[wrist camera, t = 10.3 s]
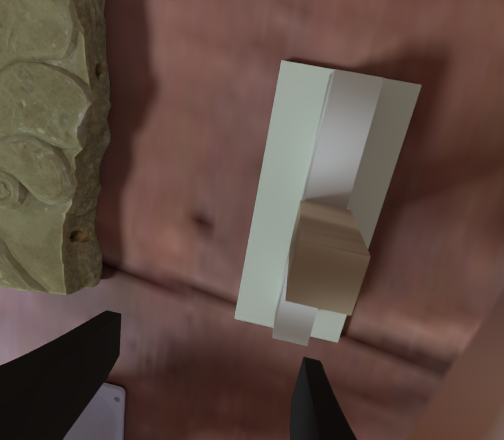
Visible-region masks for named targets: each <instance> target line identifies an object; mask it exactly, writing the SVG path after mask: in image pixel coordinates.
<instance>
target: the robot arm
mask: <svg viewBox="0 0 504 440" xmlns="http://www.w3.org/2000/svg"><path fill="white" fill-rule="evenodd" d="M120 331H121V314H120V313H116V312H112V311H107V310H106V311H104V312H102V313H101V314H99V315H97V316H95V317H94V318H92V319H90V320H89V321H87V322H85V323H83V324H82V325H80V326H78V327H76V328H75V329H73V330H71V331H69V332H68V333H66V334H64V335H62V336H60V337H59V338H57V339H55V340H53V341H51V342H49V343H47V344H45V345H43V346H41V347H39V348H37V349H35V350H33V351H31V352H29V353H27V354H25V355H23V356H21V357H19V358H17V359H14V360H12V361H10V362H8V363H5V364H3V365H1V366H0V440H123V436H124V414H125V390H124V389H123V388H122V387H120V386H116V385H112V384H108V383H104V382H105V380H106V378H107V377H108V375H109V373H110V371H111V370H112V368H113V366H114V364H115V362H116V361H117V359H118V357H119V354H120ZM290 440H357V439H356V437H355V435H354V433H353V431H352V430H351V428H350V426H349V424H348V422H347V420H346V418H345V416H344V414H343V412H342V410H341V408H340V406H339V404H338V402H337V400H336V397H335V395H334V393H333V391H332V388H331V386H330V384H329V381H328V379H327V376H326V374H325V371H324V368H323V365H322V363H321V362H320V361H319V360H315V359H310V358H306V357H304V358H303V361H302V365H301V368H300V372H299V375H298V379H297V382H296V385H295V389H294V392H293V396H292V404H291V417H290Z"/></svg>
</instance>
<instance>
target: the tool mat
mask: <svg viewBox="0 0 504 440" xmlns="http://www.w3.org/2000/svg"><path fill="white" fill-rule="evenodd" d="M333 71H334V69H329V68H323V67H317V66H312V65H306V64H300V63H294V62H289V61H283V60H282V61H281V66H280V72H279V77H278V82H277V88H276V93H275V99H274V104H273V110H272V115H271V121H270V126H269V132H268V137H267V143H266V148H265V154H264V159H263V165H262V170H261V176H260V181H259V186H258V192H257V197H256V203H255V208H254V214H253V219H252V225H251V230H250V236H249V241H248V247H247V252H246V258H245V263H244V269H243V274H242V280H241V285H240V290H239V296H238V301H237V307H236V312H235V318H234V319H238V320H242V321H246V322H251V323H255V324H259V325H264V326H268V327H272V328H273V326H274V318H275V310H276V303H277V299H278V295H279V291H280V286H281V282H282V278H283V273H284V269H285V265H286V260H287V256H288V252H289V248H290V243H291V238H292V234H293V230H294V225H295V221H296V217H297V212H298V208H299V204H300V200H301V196H302V192H303V187H304V183H305V179H306V175H307V170H308V166H309V162H310V157H311V153H312V149H313V145H314V140H315V136H316V132H317V127H318V123H319V119H320V114H321V110H322V106H323V102H324V97H325V93H326V89H327V84H328V80H329V76H330V74H331V73H332V72H333ZM421 86H422V85H420V84H414V83H409V82H403V81H397V80H391V79H386V78H384V81H383V84H382V88H381V91H380V94H379V98H378V101H377V105H376V108H375V112H374V115H373V119H372V122H371V126H370V129H369V133H368V136H367V140H366V143H365V147H364V150H363V154H362V157H361V161H360V164H359V168H358V171H357V175H356V178H355V181H354V185H353V188H352V192H351V195H350V199H349V202H348V206H347V210H351V212H352V214H353V217H354V219H355V221H356V224H357V226H358V228H359V231H360V233H361V235H362V238H363V240H364V242H365V244H366V247H367V249H368V248H369V245H370V242H371V239H372V236H373V233H374V230H375V227H376V224H377V221H378V218H379V215H380V212H381V208H382V205H383V202H384V199H385V196H386V193H387V190H388V187H389V184H390V181H391V178H392V175H393V172H394V169H395V166H396V163H397V159H398V156H399V153H400V150H401V147H402V144H403V141H404V138H405V135H406V132H407V129H408V126H409V123H410V120H411V117H412V114H413V110H414V107H415V104H416V101H417V98H418V95H419V92H420V89H421ZM346 316H347V315H345V314H341V313H337V312H332V311H328V310H323V309H319V308H318V310H317V314H316V317H315V321H314V324H313V328H312V331H311V335H310V336H311V337H316V338H320V339H324V340H328V341H333V342H337V343H338V340H339V337H340V334H341V331H342V328H343V325H344V322H345V319H346Z"/></svg>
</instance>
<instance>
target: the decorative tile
mask: <svg viewBox="0 0 504 440" xmlns="http://www.w3.org/2000/svg"><path fill="white" fill-rule="evenodd" d="M104 7H105V0H0V286H3V287H7V288H12V289H17V290H23V291H34V292H46V293H54V294H62V295H68V294H72V293H74V292H76V291H78V290H80V289H82V288H92V287H94V286H96V285H97V284H99V282H100V278H101V275H102V266H103V265H102V253H101V251H100V246H99V243H98V239H97V236H96V234H95V223H94V221H95V216H96V207H97V199H98V197H99V194H100V192H101V185H100V181H99V174H100V164H101V160H102V158H103V156H104V153H105V151H106V150H107V148H108V146H109V144H110V139H111V135H110V129H109V124H108V121H107V118H108V115H109V110H110V108H111V102H110V99H109V98H110V80H109V70H108V64H107V58H106V48H107V45H106V21H105V18H104Z"/></svg>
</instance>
